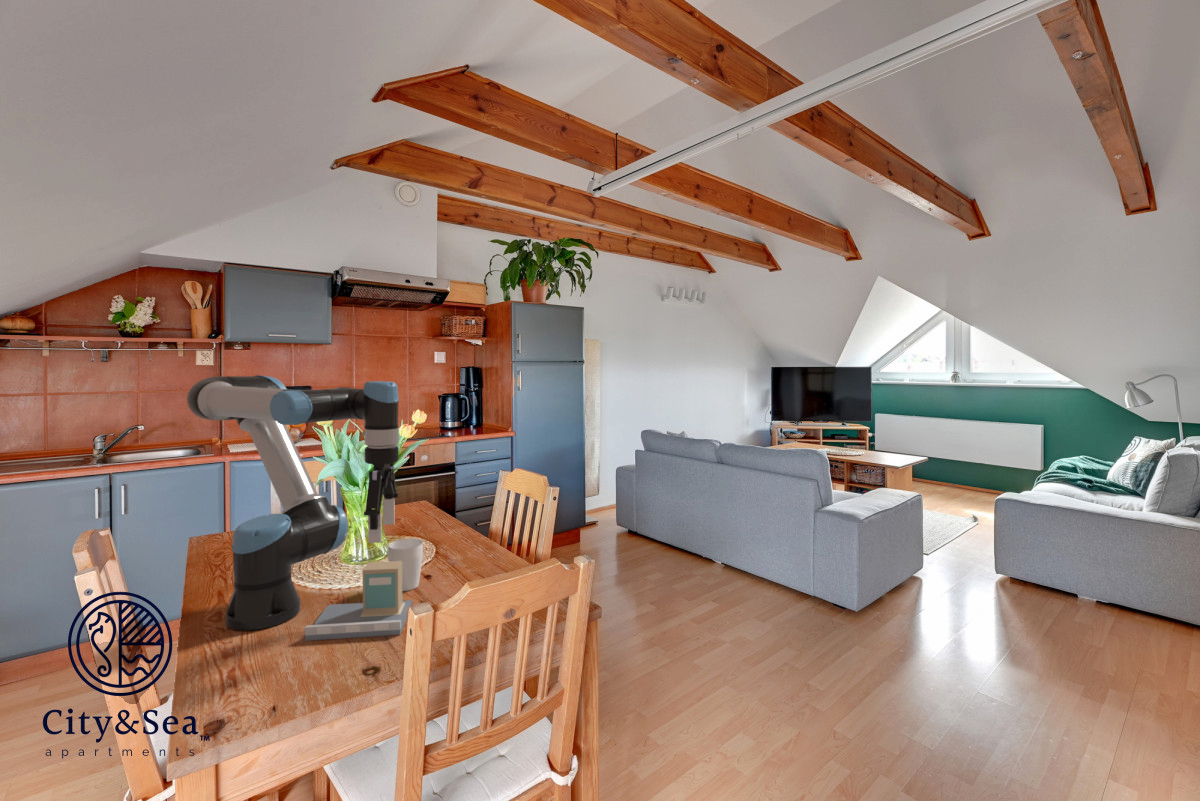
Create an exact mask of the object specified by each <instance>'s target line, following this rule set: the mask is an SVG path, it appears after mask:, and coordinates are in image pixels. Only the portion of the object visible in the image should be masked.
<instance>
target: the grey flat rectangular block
mask: <svg viewBox="0 0 1200 801" xmlns="http://www.w3.org/2000/svg"><path fill="white" fill-rule="evenodd" d="M402 601H403V604H402V606H401V608H400V611H399V613H393V614H376V615H363V602H353V603H337V604H334V603H333V604H328V605H327V606H326V607H325V609H324V610H323V611H322V612H321V614H320V615H319V616H318V618H317V619H316V620H315V622H314V623H313V624H310V625H308V624H307V625H306V626H304V641H305V642H306V641H307V642H308V641H320V640H322V641H323V640H340V639H351V638H352V639H353V638H355V639H356V638H369V637H385V636H386V637H388V636H399V635H398V634H400V635H401V633H402V631H403V629H404V628H405V624H406V622H407V620H408V617H407V612H408V608H409V607H410V606H411V605H412V604H414V603H412V602H413V599H412V600H402ZM412 606H413V605H412ZM406 619H407V620H406Z"/></svg>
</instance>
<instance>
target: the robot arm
mask: <svg viewBox="0 0 1200 801" xmlns="http://www.w3.org/2000/svg"><path fill="white" fill-rule="evenodd" d="M186 396H187V397H186V401H187V406H188V408H189V410H190V411H191V412H192V414H194V415H195V416H197V417H199V418H200V419H202V420H203V419H204V420H206V421H207V420H209V421H230V420H231V421H235V420H236V421H237V424H238V427H239V429H240V430H241V431H244V432H248V433H249V435H250V437H251V439H252V442H253V444H254V446H255V448H256V450H257V452H258V455H259V457H260V460H261V461H262V465H263V467H264V469H265V470H266V473H267V475H268V478H269V480H270V482H271V485H272V486H273V489H274V490H275V491H274V492H275V493H276V495H277V498H278V500H279V503H280V504H281V506H282V510H281V512H280V513H271V514H267V515H259V516H257V517H254V518H251V519H248V520H246V521H244V522H242V523H240V525H238V526H237V527H236V528H235V529H234V531H233V533H232V534H233V535H232V544H231V550H232V558H233V559H232V561H233V562H232V563H233V564H232V565H233V585H234V586H233V587H234V588H233V592H232V595H231V599H230V601H229V604H228V607H227V610H226V614H225V625H226V626H227V628H229V629H231V630H235V631H241V632H242V631H246V632H247V631H257V630H262V629H268V628H271V627H275V626H277V625H280V624H284V623H285V622H287V621H289V620H291V619H293V618H294V617H296V616H297V615H298V614H299V613H300V611H301V599H300V596H299V594H298V591H297V588H296V586H295V584H294V582H293V578H292V565H294V564H297V563H301V562H304V561H307V560H309V559H313V558H315V557H318V556H321V555H326V554H327V553H329V552H331V551H334V550H335V549H338V548H339V547H341V546H342V545H343V544H344V543H345V540H346V538H347V534H348V531H349V530H348V529H349V523H348V522H349V521H348V517H347V514H346V512H345V511H344V509H343V508H342V507H340V506H338V505H336V504H335V505H334V504H330V502H329V500H328V498H327V496H324V495H322V494H319V493H318V491H317V490H316V488H315V485H314V483H313V480H312V479H311V476H310V474H309V471H308V470H307V468H306V465H305V464H304V461H303V459H302V456H301V455H300V453H299V451H298V448H297V446H296V444H295V442H294V440H293V437H292V436H291V433H290V431H289V429H288V427H287V426H288V425H289V426H299V425H302V424H303V425H304V424H310V423H311V424H312V423H319V422H320V423H321V422H330V421H331V422H332V421H341V420H361V421H363V420H364V422H363V423H364V426H363V427H364V431H362V434H361V435H362V436H363V437H364V445H365V446H366V447H365V448H364V463H366V464H369V465H373V469H372V470H369V471H368V485H367V486H368V487H367V494H366V503H365V510H364V511H363V516H365V517H366V516H368V517H367V519H368V520H367V522H368V523H367V526H368V528H367V532H368V533H367V536H368V538H367V539H368V540H367V541H368V544H378V543H380V544H381V543H382V541H383V537H382V535H383V534H382V526H385V525H388V526H389V525H390V526H391V525H395V522H396V521H395V520H396V519H395V518H396V516H395V514H396V513H395V512H396V510H395V506H396V505H395V504H396V503H395V502H396V501H395V500H396V499H398V498H399V493H397V485H396V484H397V483H396V477H395V469H394V468H395V467H394V465H395V464H394V463H397V462H398V461H399V451H400V450H399V446H397V445H398V444H399V442H400V440H399V439H400V438H399V434H400V432H399V402H400V398H399V388H398V384H397V383H396V382H394V381H388V380H387V381H384V380H382V381H381V380H375V381H372V380H371V381H366V382H365V383H364V385H363V388H356V387H355V388H354V387H347V386H346V387H345V386H344V387H335V388H323V389H322V388H320V389H295V388H294V389H289V388H287V387H286V385H285V383H283V382H282V381H281V380H279V379H278V378H276V377H273V376H271V375H270V376H268V375H261V374H260V375H259V374H257V375H256V374H255V375H252V376H250V375H245V376H244V375H241V376H240V375H239V376H231V375H229V376H227V375H226V376H224V375H223V376H221V375H220V376H219V375H217V376H211V377H207V378H203V379H201V380H199V381H197V382H196V383H194V384H193V385H192V387H191V388H190V389H189V390H188V392H187V395H186ZM381 509H382V513H381Z"/></svg>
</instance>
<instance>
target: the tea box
mask: <svg viewBox="0 0 1200 801" xmlns="http://www.w3.org/2000/svg"><path fill="white" fill-rule="evenodd" d="M403 601H404V600H403V591H402V561H389V560H388V561H374V562H373V561H369V562H367V563H366V564H365V566H364V568H363V569H362V603H363V615H376V614H393V613H399V611H400V608H401V606H402V604H403Z"/></svg>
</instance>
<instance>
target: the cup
mask: <svg viewBox="0 0 1200 801" xmlns="http://www.w3.org/2000/svg"><path fill="white" fill-rule="evenodd" d="M423 548H424V546H423V541H422V540H420V539H417V538H402V539H397V540H394V541H391V542H390V543H389V544H388V551H387V553H388V554H387V558H388V562H389V561H402V592H408V591H412V590H414V589H416V588H418V587H419V585H420V578H421V570H422V564H423V556H424V549H423Z"/></svg>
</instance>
